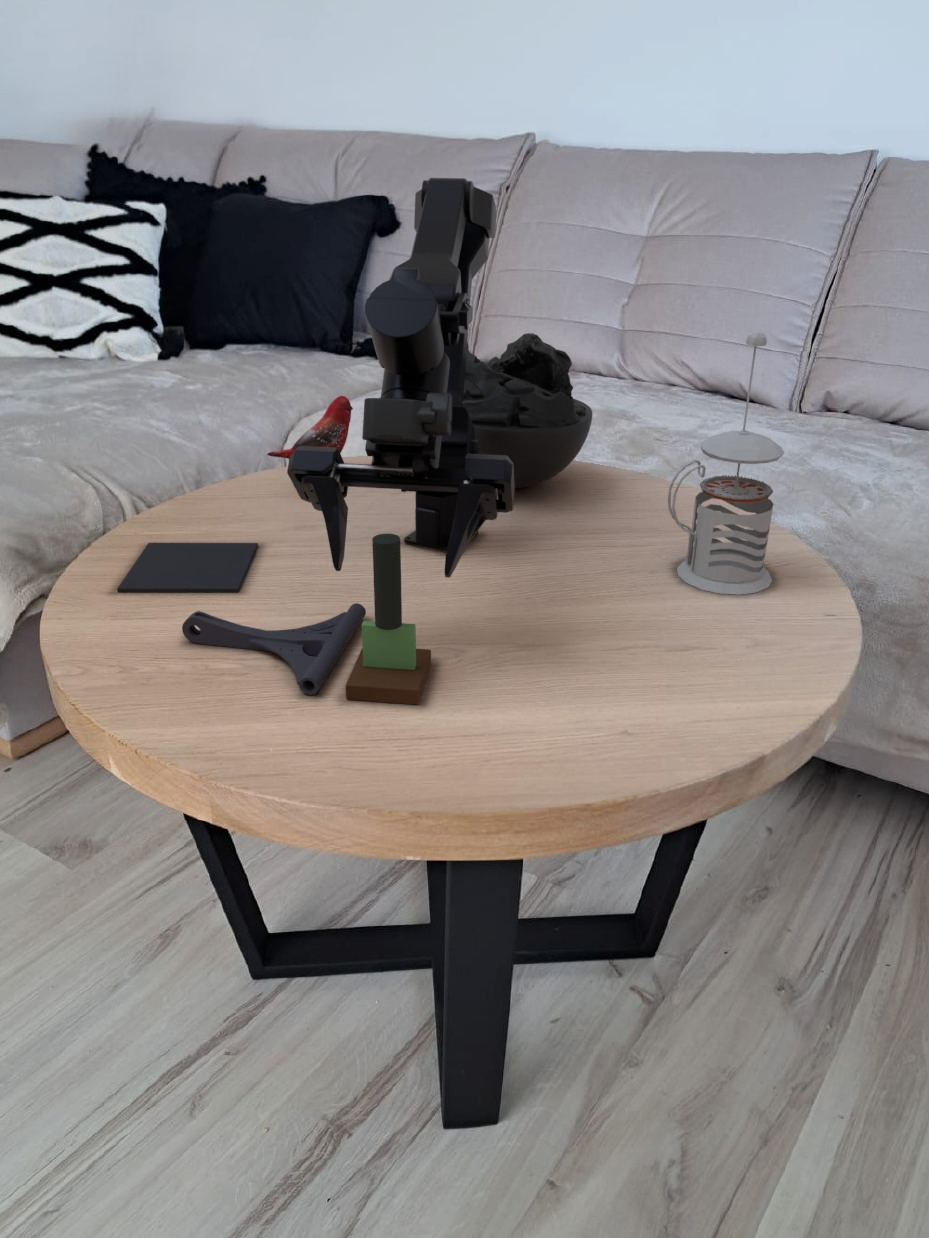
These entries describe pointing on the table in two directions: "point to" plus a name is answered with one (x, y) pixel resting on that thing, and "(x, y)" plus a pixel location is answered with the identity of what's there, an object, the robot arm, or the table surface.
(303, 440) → the decorative bird figurine
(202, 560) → the mat
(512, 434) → the bowl of black rocks
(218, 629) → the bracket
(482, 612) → the table surface
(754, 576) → the french press
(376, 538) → the rubber stamp
